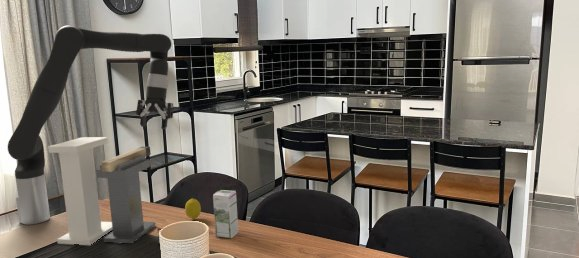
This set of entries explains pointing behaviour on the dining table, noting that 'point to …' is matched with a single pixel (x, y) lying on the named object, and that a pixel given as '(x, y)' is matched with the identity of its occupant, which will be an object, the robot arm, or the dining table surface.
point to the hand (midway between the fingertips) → (153, 127)
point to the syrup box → (225, 213)
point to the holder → (126, 201)
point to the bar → (124, 158)
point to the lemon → (192, 208)
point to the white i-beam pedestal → (81, 190)
